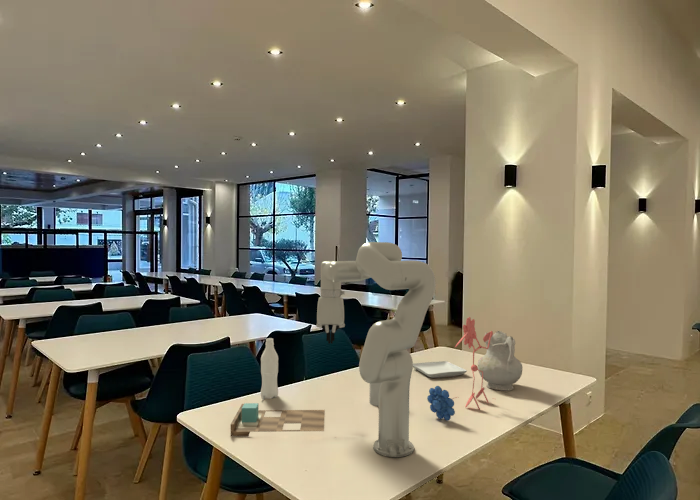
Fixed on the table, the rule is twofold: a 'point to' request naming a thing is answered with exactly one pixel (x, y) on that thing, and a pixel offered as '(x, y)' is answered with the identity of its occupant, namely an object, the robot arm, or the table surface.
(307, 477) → the table surface
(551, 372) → the table surface
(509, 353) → the ceramic pitcher
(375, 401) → the cup
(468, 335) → the pink stick figure
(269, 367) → the water bottle
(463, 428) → the table surface
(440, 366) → the salad plate
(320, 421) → the board
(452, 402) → the grapes
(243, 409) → the block
